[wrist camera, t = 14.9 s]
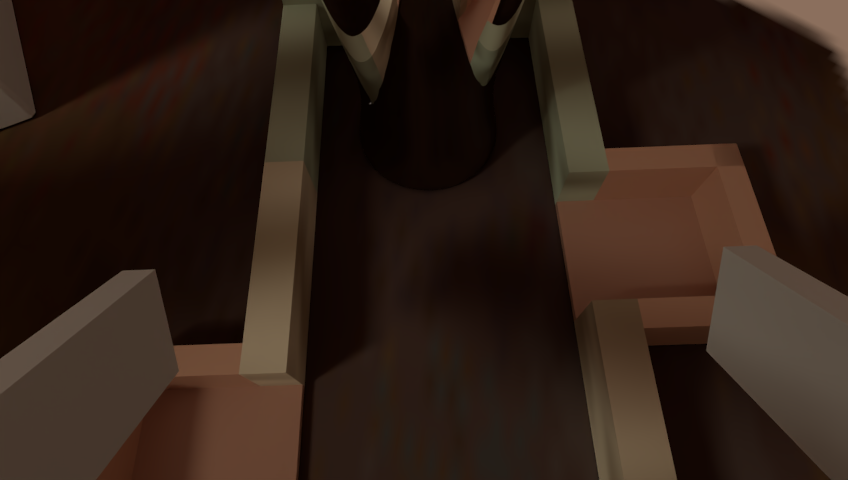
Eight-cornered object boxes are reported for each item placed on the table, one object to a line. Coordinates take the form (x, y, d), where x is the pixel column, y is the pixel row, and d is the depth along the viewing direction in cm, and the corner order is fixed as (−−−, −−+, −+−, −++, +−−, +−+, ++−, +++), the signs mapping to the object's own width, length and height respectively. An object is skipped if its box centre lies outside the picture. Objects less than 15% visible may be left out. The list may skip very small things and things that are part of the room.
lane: (727, 902, 13) (822, 1039, 10) (210, 915, 13) (136, 1055, 10) (554, 14, 26) (570, -50, 23) (299, 25, 26) (280, -38, 23)
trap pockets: (826, 566, 16) (891, 580, 14) (83, 590, 16) (25, 608, 14) (705, 178, 22) (736, 143, 20) (166, 200, 22) (134, 167, 20)
